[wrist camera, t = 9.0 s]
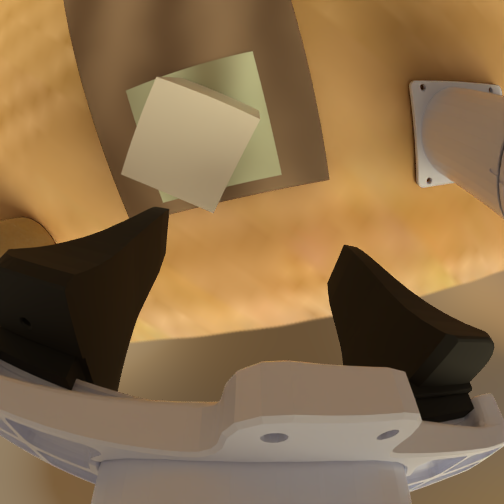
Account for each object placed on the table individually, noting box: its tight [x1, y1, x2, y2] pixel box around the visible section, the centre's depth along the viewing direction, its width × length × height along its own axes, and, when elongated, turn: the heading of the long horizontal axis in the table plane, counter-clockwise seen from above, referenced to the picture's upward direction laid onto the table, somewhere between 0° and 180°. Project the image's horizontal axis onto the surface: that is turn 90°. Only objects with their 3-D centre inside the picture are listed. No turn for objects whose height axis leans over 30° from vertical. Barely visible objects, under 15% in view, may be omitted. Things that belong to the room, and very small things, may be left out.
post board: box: [64, 0, 329, 218], centre depth 13 cm, size 14×22×5 cm, turn 13°
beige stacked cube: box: [121, 77, 260, 213], centre depth 15 cm, size 5×5×5 cm
